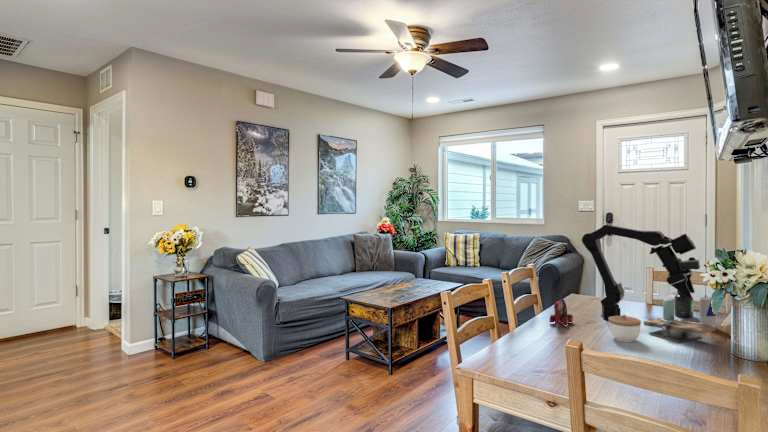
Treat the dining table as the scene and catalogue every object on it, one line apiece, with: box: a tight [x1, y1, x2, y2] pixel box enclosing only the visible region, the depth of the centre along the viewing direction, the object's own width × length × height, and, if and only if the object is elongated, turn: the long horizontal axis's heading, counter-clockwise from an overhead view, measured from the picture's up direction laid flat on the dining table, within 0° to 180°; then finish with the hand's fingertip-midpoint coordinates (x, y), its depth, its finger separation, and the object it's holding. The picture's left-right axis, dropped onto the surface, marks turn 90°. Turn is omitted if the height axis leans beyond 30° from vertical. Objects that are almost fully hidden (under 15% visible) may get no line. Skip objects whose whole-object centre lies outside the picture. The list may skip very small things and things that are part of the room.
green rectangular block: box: [660, 298, 679, 324], centre depth 166 cm, size 4×6×9 cm, turn 114°
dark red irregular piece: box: [549, 298, 574, 325], centre depth 183 cm, size 7×12×10 cm, turn 139°
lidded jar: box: [607, 314, 642, 343], centre depth 161 cm, size 11×11×9 cm
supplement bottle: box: [674, 289, 694, 319], centre depth 189 cm, size 7×7×12 cm
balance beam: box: [643, 317, 717, 335], centre depth 163 cm, size 21×9×2 cm, turn 24°
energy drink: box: [698, 296, 717, 328], centre depth 172 cm, size 5×5×12 cm
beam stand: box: [649, 318, 702, 344], centre depth 164 cm, size 11×14×5 cm
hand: (691, 294), depth 169 cm, fingers open, 9 cm apart
